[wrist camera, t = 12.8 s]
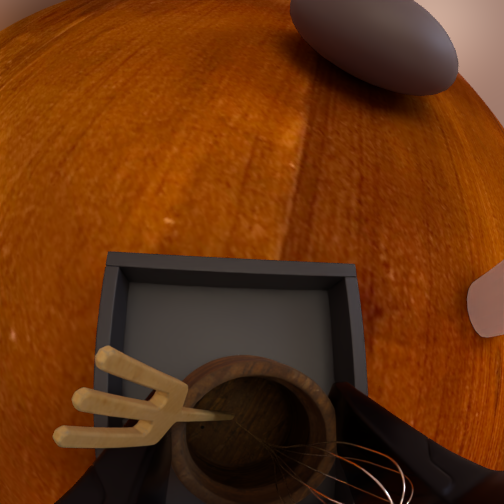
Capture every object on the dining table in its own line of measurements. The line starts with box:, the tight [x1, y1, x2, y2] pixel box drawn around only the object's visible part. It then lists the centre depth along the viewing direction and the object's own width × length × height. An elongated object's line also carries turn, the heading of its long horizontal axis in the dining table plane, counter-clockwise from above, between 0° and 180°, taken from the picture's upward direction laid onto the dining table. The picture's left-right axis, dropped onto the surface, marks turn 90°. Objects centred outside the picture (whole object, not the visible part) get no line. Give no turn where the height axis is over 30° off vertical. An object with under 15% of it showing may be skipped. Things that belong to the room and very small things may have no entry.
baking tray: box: [94, 252, 368, 504], centre depth 13 cm, size 16×14×3 cm
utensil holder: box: [53, 346, 414, 504], centre depth 8 cm, size 6×6×12 cm
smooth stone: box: [290, 0, 458, 96], centre depth 27 cm, size 25×25×15 cm
